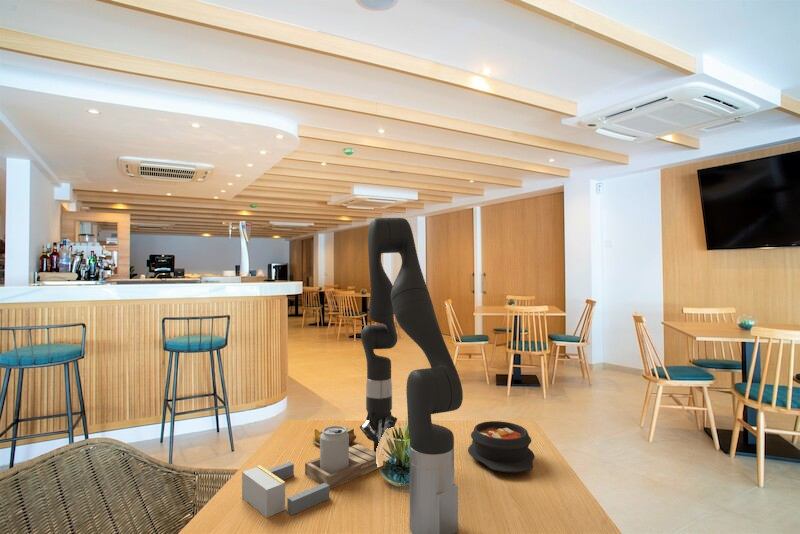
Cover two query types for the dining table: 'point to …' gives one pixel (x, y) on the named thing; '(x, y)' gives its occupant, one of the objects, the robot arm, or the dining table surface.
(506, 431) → the casserole
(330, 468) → the can
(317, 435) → the toy sandwich meal
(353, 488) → the dining table surface
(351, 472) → the pallet
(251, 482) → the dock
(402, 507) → the dining table surface
